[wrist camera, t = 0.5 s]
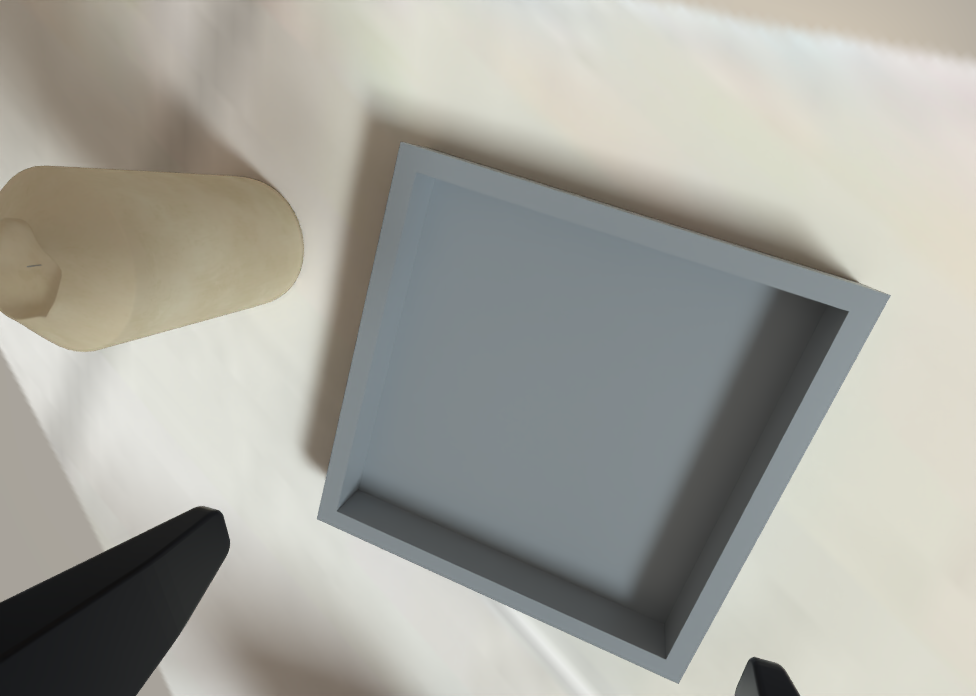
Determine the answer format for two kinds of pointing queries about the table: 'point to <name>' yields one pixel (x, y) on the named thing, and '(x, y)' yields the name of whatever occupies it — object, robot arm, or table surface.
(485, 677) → the table surface
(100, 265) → the candle
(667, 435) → the tray
